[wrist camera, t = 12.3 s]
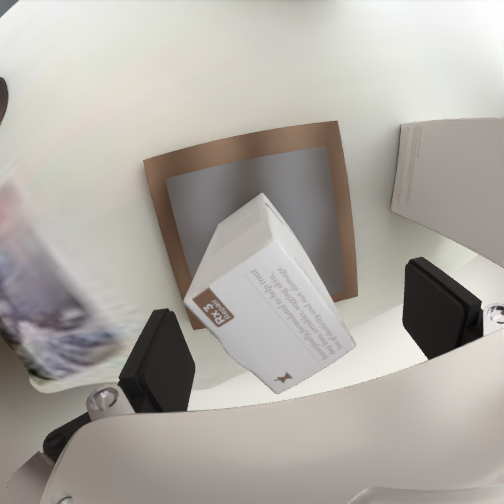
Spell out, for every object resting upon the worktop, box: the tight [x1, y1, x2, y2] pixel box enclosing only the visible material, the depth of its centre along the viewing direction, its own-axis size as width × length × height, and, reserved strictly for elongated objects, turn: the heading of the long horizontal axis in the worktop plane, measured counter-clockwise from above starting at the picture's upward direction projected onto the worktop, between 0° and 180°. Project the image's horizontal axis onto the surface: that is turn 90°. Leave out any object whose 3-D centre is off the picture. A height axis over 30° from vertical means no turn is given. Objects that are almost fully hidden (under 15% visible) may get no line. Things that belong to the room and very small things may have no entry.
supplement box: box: [391, 118, 504, 268], centre depth 16 cm, size 9×9×15 cm
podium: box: [143, 121, 358, 330], centre depth 23 cm, size 16×16×4 cm
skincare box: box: [183, 193, 356, 394], centre depth 16 cm, size 6×4×12 cm
